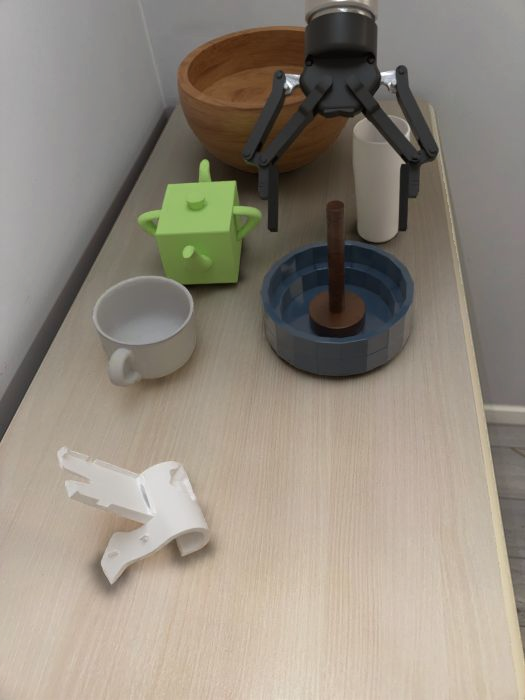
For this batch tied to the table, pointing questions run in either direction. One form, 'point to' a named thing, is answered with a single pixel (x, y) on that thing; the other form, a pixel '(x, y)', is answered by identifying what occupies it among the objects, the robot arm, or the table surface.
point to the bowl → (249, 95)
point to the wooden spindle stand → (336, 286)
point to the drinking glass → (376, 180)
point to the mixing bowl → (360, 278)
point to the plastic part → (138, 507)
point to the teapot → (201, 230)
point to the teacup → (145, 328)
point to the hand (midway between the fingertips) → (336, 230)
